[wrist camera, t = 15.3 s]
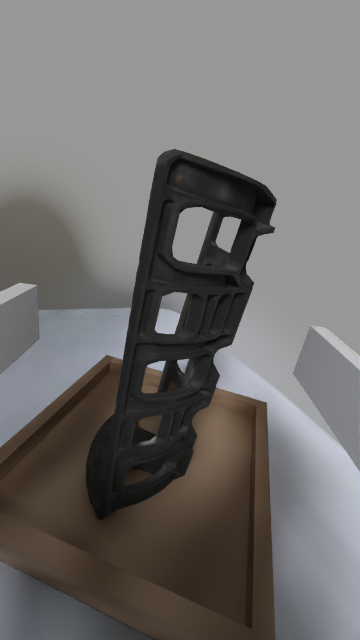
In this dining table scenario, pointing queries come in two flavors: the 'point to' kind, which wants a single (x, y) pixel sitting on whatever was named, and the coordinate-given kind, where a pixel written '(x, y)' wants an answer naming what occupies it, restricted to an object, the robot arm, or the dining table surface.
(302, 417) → the dining table surface
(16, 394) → the dining table surface
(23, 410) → the dining table surface
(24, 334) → the robot arm
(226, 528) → the tray
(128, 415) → the holder
